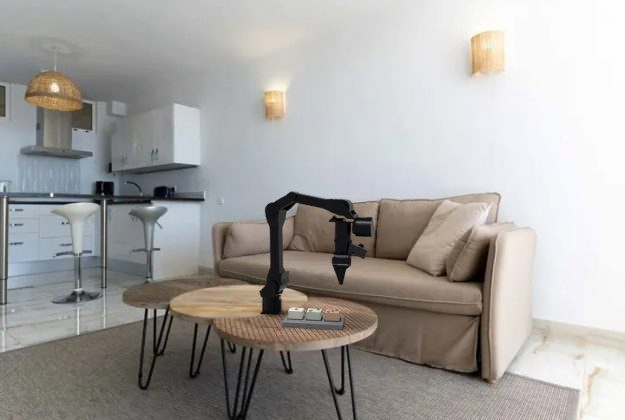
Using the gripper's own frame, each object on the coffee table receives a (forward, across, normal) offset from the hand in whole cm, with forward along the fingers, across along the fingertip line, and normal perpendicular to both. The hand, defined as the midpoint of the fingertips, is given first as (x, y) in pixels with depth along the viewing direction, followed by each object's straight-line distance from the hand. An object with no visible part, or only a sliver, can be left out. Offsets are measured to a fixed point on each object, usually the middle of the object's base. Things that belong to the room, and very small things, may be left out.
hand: (341, 282), depth 134 cm
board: (+13, -5, +8) cm, 16 cm away
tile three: (+11, -5, +3) cm, 13 cm away
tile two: (+11, -5, +9) cm, 15 cm away
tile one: (+11, -5, +14) cm, 19 cm away
